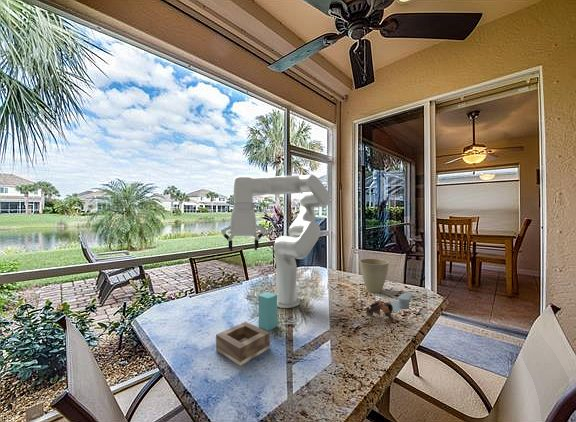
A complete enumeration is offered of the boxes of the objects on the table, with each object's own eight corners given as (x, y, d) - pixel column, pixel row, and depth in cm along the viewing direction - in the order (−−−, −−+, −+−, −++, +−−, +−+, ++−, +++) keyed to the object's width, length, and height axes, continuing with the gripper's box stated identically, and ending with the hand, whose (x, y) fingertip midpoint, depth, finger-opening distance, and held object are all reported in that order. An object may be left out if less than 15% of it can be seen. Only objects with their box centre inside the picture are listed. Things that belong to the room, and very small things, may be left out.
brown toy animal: (386, 330, 94) (374, 309, 96) (369, 331, 102) (358, 312, 104) (403, 314, 101) (392, 295, 103) (386, 316, 109) (376, 298, 111)
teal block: (268, 322, 100) (268, 291, 100) (277, 326, 97) (277, 294, 97) (258, 326, 96) (258, 295, 96) (267, 331, 93) (267, 298, 93)
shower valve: (423, 295, 116) (415, 305, 104) (423, 307, 116) (415, 318, 104) (395, 289, 124) (384, 298, 112) (395, 300, 124) (384, 310, 112)
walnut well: (245, 335, 90) (245, 321, 90) (269, 348, 82) (269, 332, 82) (216, 350, 81) (216, 334, 81) (240, 365, 73) (240, 348, 73)
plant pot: (364, 284, 148) (364, 257, 147) (391, 289, 139) (391, 260, 139) (355, 291, 136) (355, 262, 135) (384, 297, 127) (384, 265, 127)
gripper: (263, 207, 107) (264, 247, 107) (221, 207, 103) (221, 249, 104) (266, 207, 100) (266, 251, 100) (220, 207, 96) (220, 252, 96)
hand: (243, 250), depth 102 cm, fingers open, 9 cm apart
